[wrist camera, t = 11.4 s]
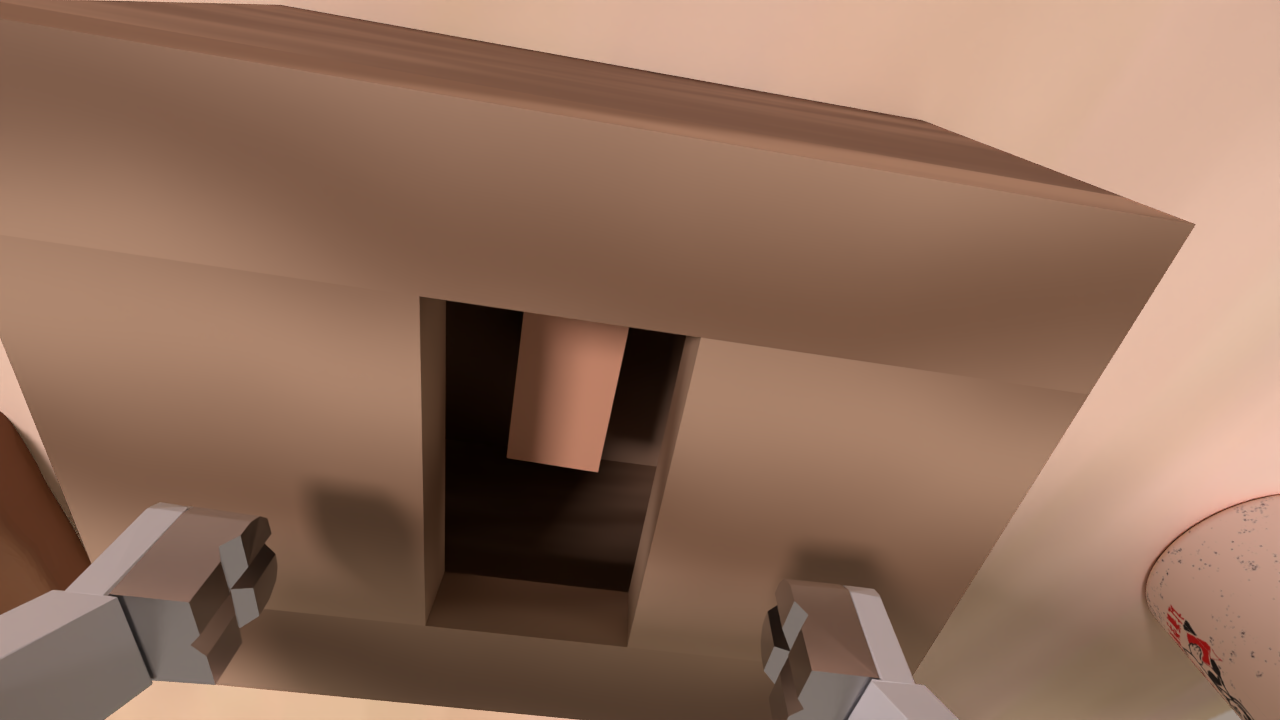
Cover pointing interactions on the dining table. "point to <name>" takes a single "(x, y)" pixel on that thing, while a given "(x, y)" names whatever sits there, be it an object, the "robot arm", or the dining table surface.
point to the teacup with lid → (1227, 603)
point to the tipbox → (491, 331)
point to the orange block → (564, 390)
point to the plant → (32, 529)
